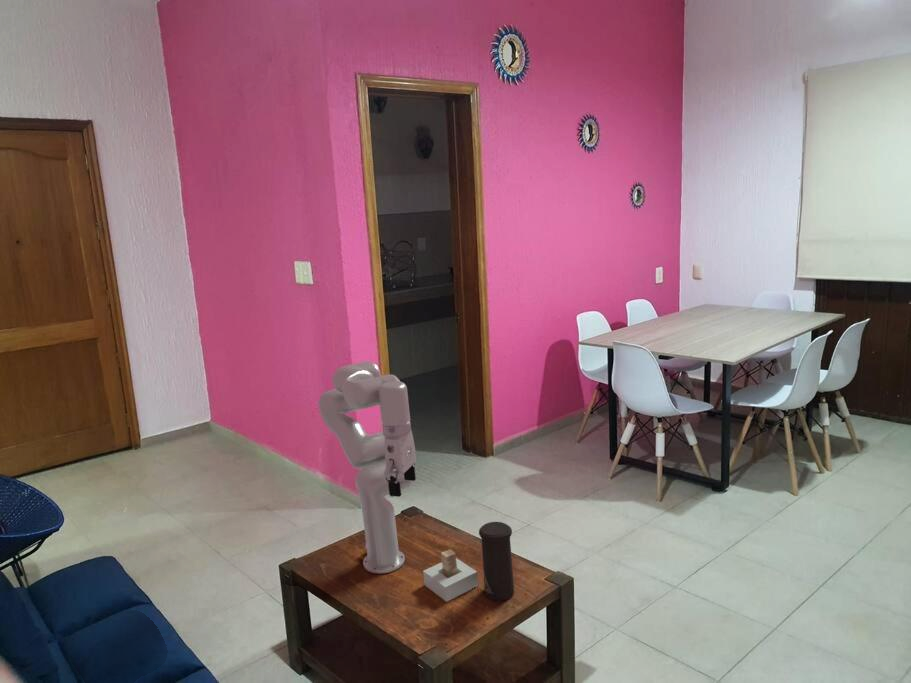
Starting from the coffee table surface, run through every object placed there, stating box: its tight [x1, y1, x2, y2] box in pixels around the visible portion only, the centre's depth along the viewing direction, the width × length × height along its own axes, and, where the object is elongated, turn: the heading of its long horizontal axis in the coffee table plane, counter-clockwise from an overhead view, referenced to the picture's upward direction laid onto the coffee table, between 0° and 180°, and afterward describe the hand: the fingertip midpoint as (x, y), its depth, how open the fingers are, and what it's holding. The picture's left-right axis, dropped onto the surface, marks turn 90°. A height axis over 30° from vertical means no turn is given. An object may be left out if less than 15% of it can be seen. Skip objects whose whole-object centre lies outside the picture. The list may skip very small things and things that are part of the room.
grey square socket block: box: [422, 557, 479, 603], centre depth 194 cm, size 11×11×4 cm
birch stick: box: [440, 548, 457, 578], centre depth 193 cm, size 3×3×9 cm
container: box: [478, 521, 515, 602], centre depth 187 cm, size 9×9×20 cm
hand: (403, 487), depth 185 cm, fingers open, 9 cm apart
